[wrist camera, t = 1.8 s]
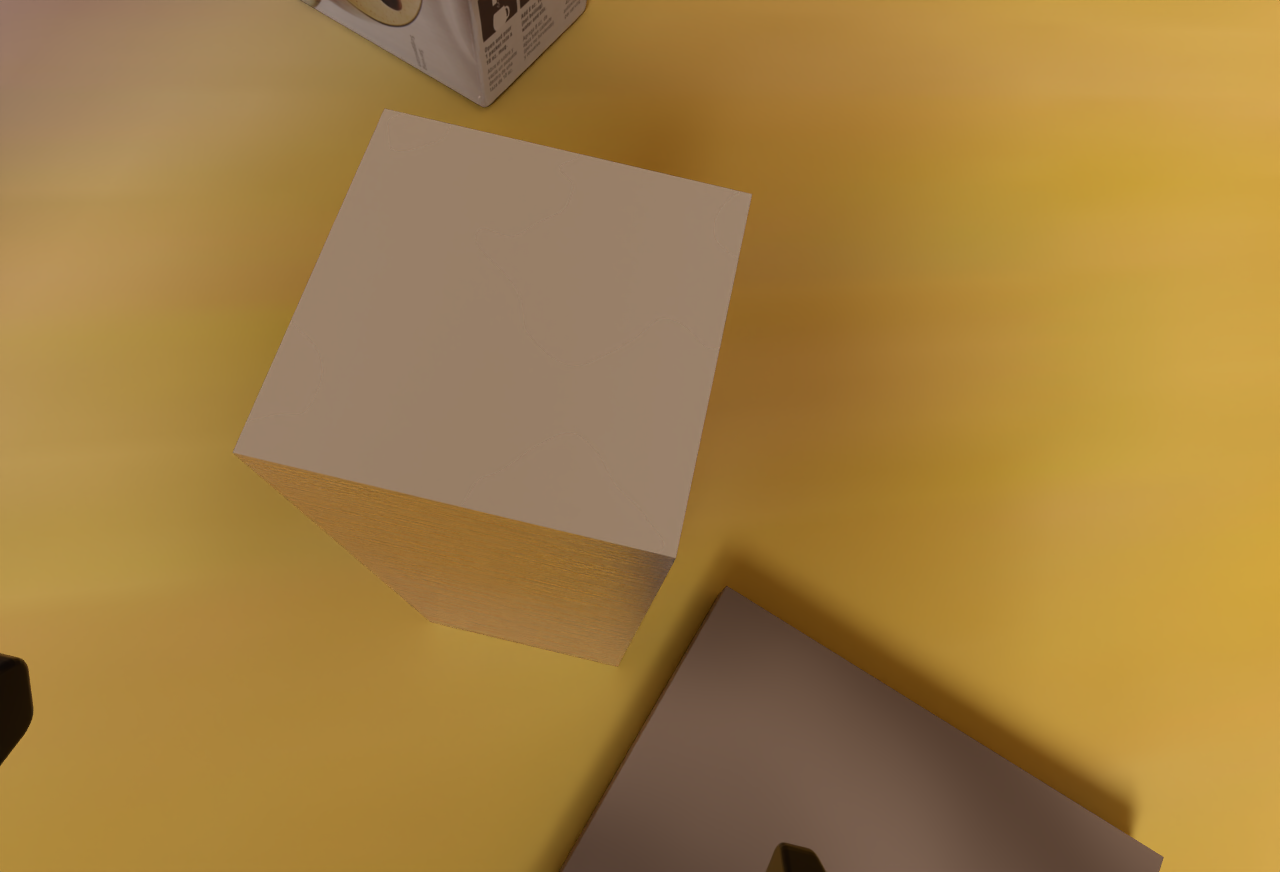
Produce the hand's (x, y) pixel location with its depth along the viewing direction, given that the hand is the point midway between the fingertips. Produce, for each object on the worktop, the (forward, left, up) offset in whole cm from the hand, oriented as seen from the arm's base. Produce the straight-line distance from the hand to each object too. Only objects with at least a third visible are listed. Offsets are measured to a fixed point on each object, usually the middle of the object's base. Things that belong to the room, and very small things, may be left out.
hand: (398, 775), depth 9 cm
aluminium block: (+5, +2, -11) cm, 12 cm away
